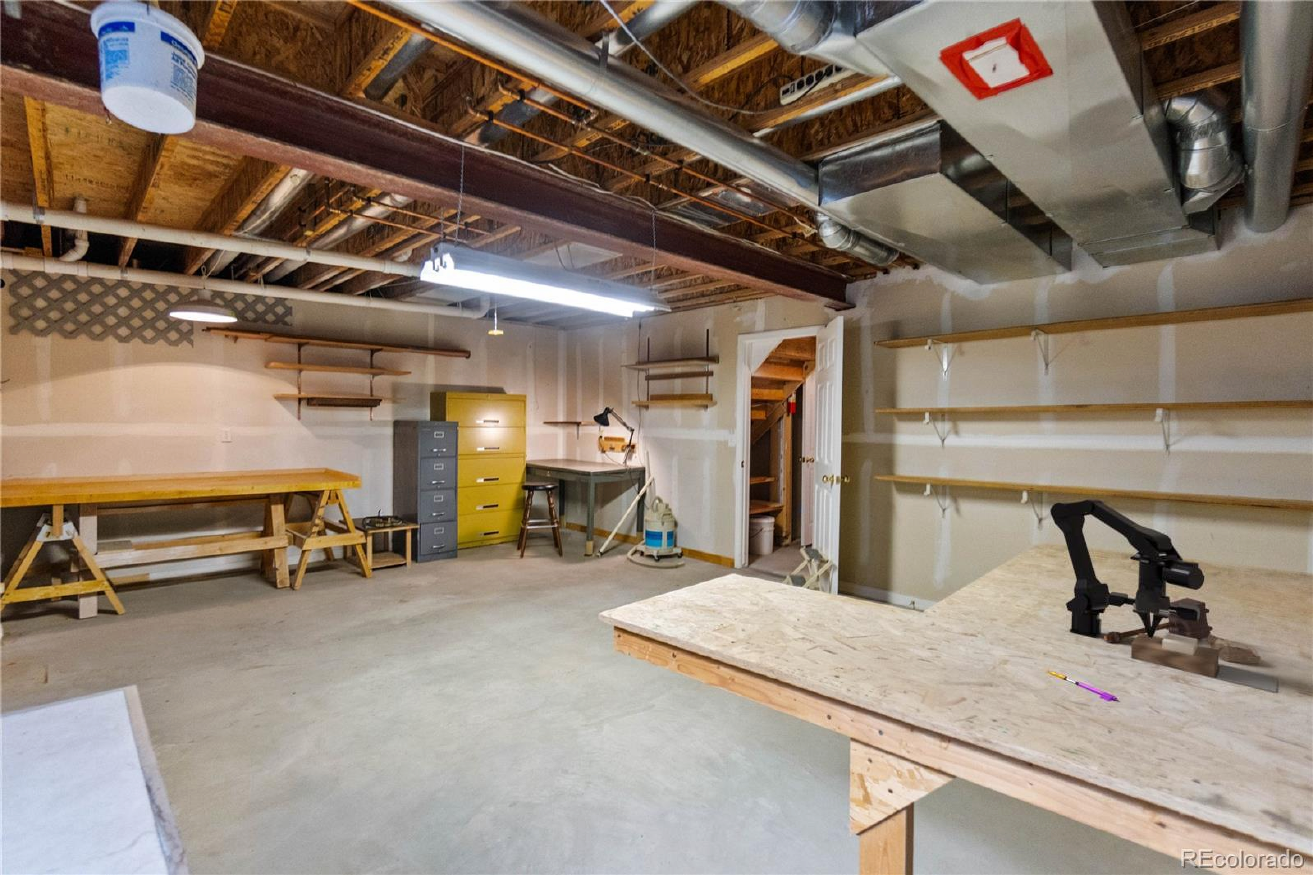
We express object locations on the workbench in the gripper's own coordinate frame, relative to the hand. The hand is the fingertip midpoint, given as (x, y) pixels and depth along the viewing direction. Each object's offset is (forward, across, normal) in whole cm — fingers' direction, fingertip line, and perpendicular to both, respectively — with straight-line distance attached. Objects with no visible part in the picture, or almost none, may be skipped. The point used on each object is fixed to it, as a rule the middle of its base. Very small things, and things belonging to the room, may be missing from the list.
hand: (1150, 637), depth 156 cm
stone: (+6, +14, +16) cm, 22 cm away
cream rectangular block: (+1, +6, 0) cm, 6 cm away
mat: (+5, +18, 0) cm, 19 cm away
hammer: (+5, -2, +17) cm, 18 cm away
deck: (+5, +5, 0) cm, 7 cm away
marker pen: (+6, -8, -38) cm, 39 cm away
